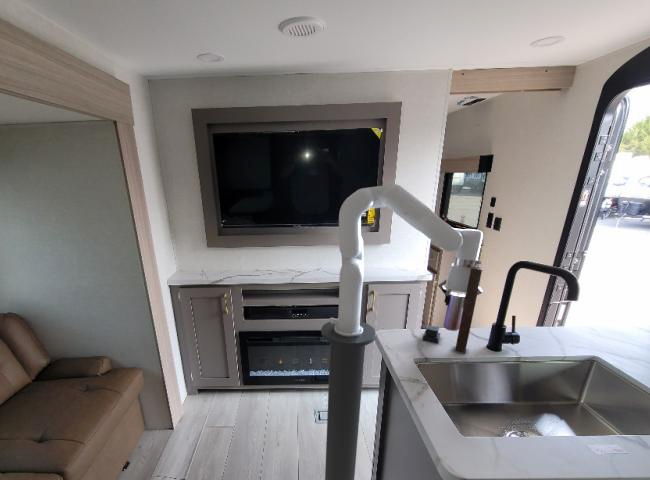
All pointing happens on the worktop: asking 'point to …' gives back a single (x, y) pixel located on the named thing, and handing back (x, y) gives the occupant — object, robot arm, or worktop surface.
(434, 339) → the wide pad
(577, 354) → the worktop surface
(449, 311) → the beverage can
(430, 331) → the small pad
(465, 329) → the walnut post
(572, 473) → the worktop surface
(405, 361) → the worktop surface
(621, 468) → the worktop surface
